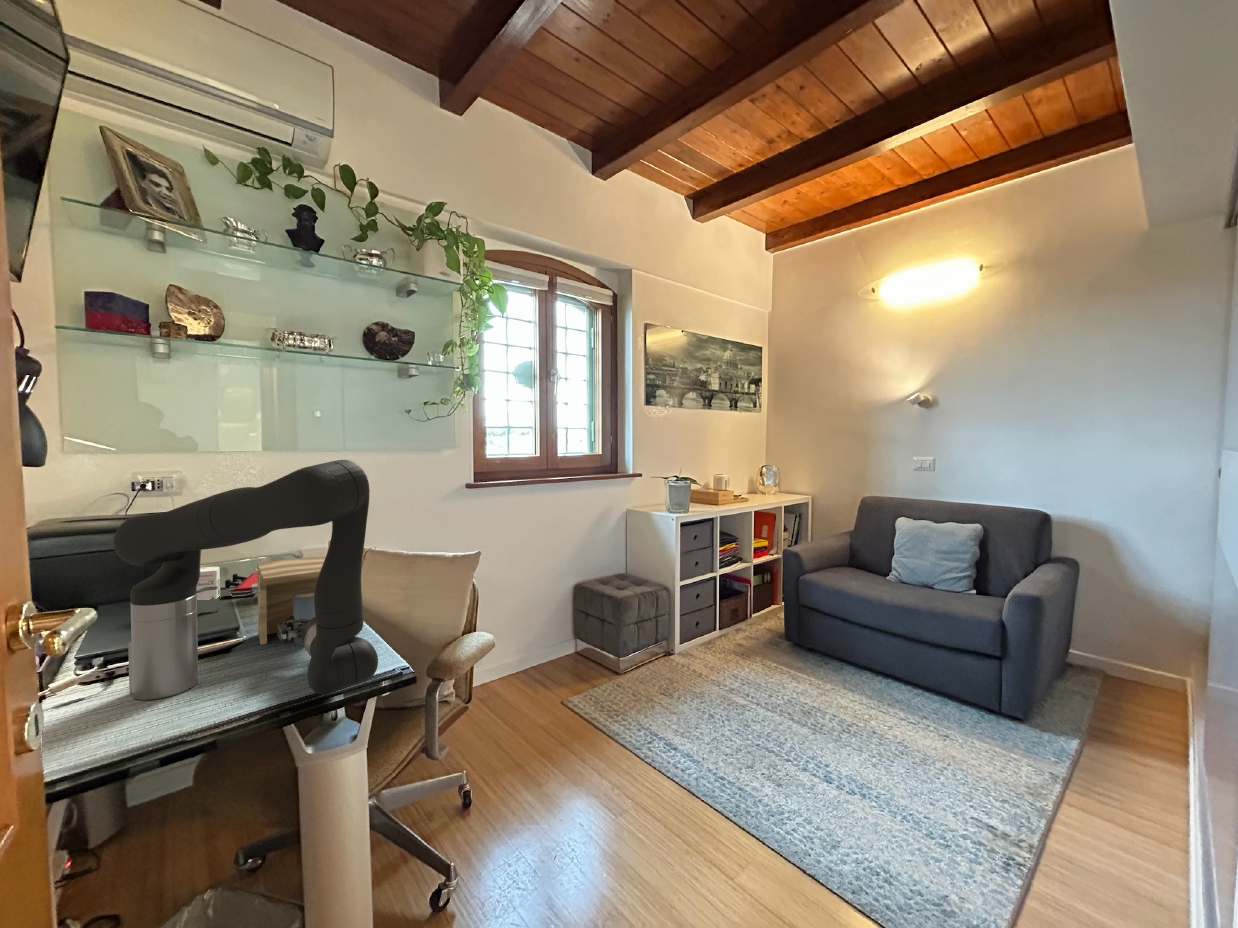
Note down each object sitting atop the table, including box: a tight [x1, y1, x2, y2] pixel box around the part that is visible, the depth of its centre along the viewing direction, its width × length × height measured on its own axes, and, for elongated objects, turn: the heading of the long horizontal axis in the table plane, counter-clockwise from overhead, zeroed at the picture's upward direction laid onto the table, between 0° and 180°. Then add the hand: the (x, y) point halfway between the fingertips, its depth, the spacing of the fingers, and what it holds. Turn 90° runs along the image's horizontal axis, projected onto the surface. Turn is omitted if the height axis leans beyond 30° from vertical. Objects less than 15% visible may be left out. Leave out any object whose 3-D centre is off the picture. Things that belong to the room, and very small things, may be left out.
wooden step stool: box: [256, 554, 327, 645], centre depth 121 cm, size 18×18×18 cm
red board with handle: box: [224, 572, 258, 598], centre depth 166 cm, size 30×3×15 cm
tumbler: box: [292, 590, 315, 646], centre depth 120 cm, size 6×6×11 cm
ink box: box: [196, 566, 221, 600], centre depth 139 cm, size 9×5×12 cm, turn 120°
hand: (313, 616), depth 113 cm, fingers open, 8 cm apart
